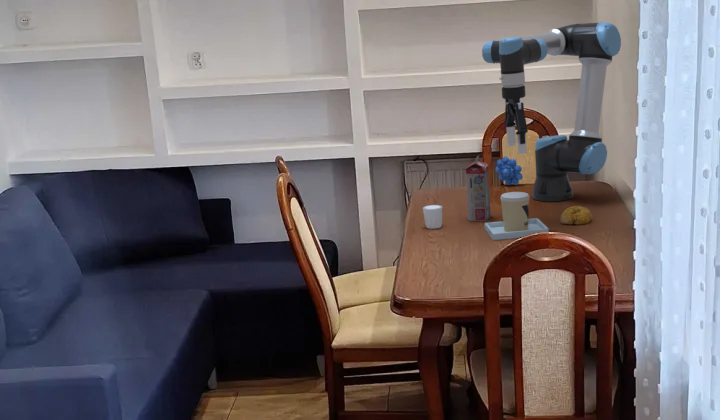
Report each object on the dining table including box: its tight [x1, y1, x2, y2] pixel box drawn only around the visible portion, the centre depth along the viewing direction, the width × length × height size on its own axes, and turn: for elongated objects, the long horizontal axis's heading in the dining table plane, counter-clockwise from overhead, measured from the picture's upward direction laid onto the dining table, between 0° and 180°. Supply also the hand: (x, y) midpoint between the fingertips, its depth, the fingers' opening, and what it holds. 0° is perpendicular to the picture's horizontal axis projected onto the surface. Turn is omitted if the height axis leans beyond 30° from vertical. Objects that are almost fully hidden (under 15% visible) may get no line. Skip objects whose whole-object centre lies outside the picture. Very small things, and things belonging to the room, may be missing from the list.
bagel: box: [560, 205, 593, 226], centre depth 285 cm, size 10×11×5 cm
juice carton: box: [465, 155, 491, 222], centre depth 297 cm, size 7×7×22 cm
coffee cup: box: [500, 191, 530, 232], centre depth 277 cm, size 9×9×12 cm
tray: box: [484, 218, 550, 241], centre depth 279 cm, size 18×14×2 cm
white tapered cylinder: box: [422, 204, 443, 230], centre depth 293 cm, size 7×7×7 cm
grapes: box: [494, 156, 524, 186], centre depth 344 cm, size 12×7×12 cm, turn 57°
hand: (517, 149), depth 281 cm, fingers open, 13 cm apart
